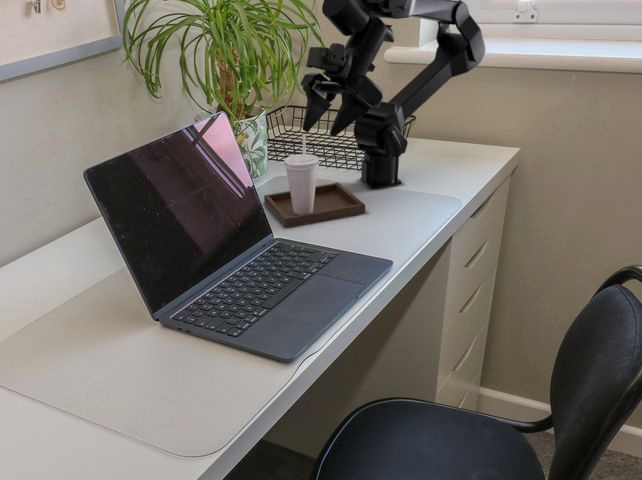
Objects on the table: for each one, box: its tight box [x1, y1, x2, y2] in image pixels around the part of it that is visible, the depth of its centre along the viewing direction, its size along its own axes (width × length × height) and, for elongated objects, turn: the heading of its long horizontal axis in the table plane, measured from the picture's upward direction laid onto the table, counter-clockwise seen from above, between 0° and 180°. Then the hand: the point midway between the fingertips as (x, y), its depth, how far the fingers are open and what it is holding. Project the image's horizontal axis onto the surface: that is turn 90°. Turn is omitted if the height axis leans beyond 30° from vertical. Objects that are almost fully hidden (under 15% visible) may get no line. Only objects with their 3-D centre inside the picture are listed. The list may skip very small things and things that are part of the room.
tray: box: [263, 182, 366, 229], centre depth 132 cm, size 16×14×2 cm
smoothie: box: [283, 133, 320, 215], centre depth 126 cm, size 6×6×14 cm
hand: (317, 133), depth 126 cm, fingers open, 9 cm apart
